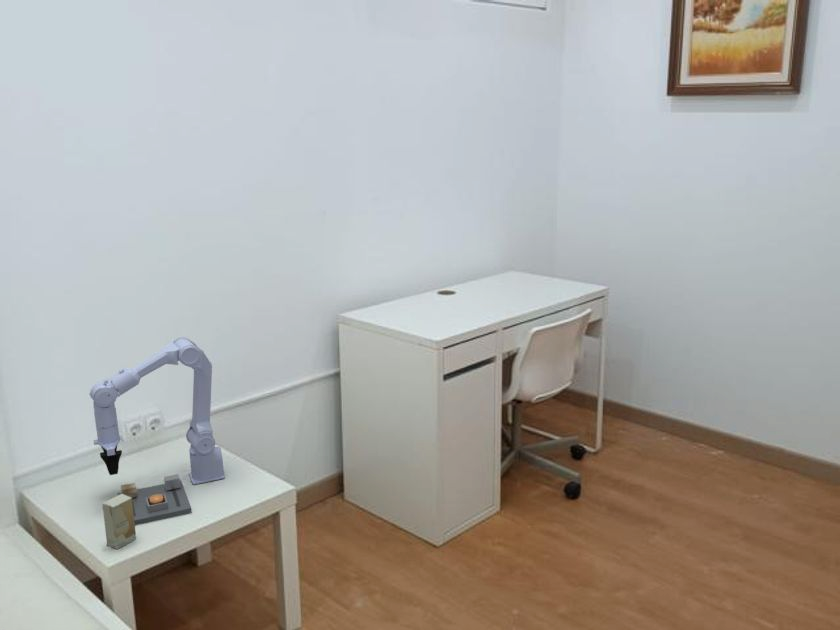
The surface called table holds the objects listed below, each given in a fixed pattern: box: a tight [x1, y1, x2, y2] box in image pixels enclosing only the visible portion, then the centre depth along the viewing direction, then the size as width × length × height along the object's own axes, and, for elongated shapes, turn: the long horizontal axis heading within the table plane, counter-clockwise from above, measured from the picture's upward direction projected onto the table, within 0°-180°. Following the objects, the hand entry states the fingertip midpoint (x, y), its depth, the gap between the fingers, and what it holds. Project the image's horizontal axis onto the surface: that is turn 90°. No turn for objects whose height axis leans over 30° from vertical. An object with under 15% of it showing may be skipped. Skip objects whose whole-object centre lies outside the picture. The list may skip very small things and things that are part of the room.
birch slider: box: [120, 482, 138, 498], centre depth 225 cm, size 4×3×3 cm
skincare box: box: [102, 494, 137, 550], centre depth 204 cm, size 6×4×12 cm
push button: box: [150, 494, 164, 505], centre depth 219 cm, size 4×4×2 cm
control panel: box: [117, 480, 193, 526], centre depth 223 cm, size 18×18×4 cm
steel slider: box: [163, 473, 181, 490], centre depth 229 cm, size 4×3×3 cm
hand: (112, 468), depth 224 cm, fingers open, 7 cm apart
